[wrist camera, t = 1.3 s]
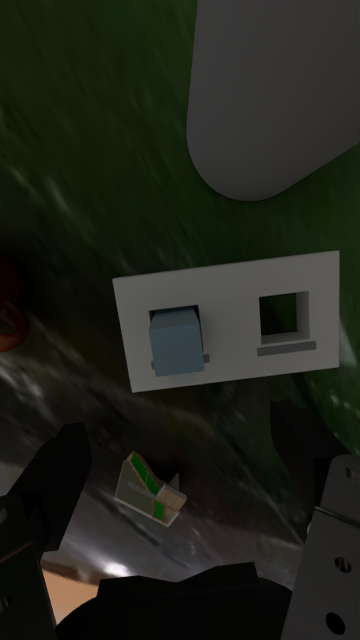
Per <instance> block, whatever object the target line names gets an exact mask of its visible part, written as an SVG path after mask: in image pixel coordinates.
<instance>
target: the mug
mask: <svg viewBox="0 0 360 640" xmlns="http://www.w3.org/2000/svg"><path fill="white" fill-rule="evenodd" d="M24 292H25V284H24V278H23V275H22V272H21V270H20V268H19V267H18V265H17V264H16V263H15V262H14V260H13V259H11V258H10V257H9V256H8V255H6V254H5V253H3V252H1V251H0V320H3V321H5V322H7V323H9V324H10V325H11V326H12V327H13V328H14V329H15V331H16V332H15V333H13V334H10V335H6V334H2V333H0V352H6V351H10V350H13V349H15V348H16V347H18V346H19V345H20V344H21V343H22V342H23V341H24V340H25V339H26V337H27V336H28V334H29V331H30V324H29V321H28V320H27V318H26V317H25V315H24V314H23V313H22V311H21V310H20V308H19V307H18V304H19V303H20V302H21V300H22V298H23V295H24Z"/></svg>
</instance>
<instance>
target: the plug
mask: <svg viewBox="0 0 360 640" xmlns="http://www.w3.org/2000/svg"><path fill="white" fill-rule="evenodd" d="M149 336H150V342H151V349H152V356H153V362H154V369H155V375H156V377H160V376H167V382H168V386H173V385H181V384H189V383H196V380H195V372H201V371H205V370H204V361H203V352H202V343H201V334H200V325H199V321H198V319H197V316H196V314H195V311H194V309H193V306H192V305H190V306H182V307H174V308H166V309H158V310H156V311H155V314H154V317H153V319H152V322H151V325H150V327H149Z"/></svg>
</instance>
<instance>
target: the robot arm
mask: <svg viewBox="0 0 360 640" xmlns="http://www.w3.org/2000/svg"><path fill="white" fill-rule="evenodd" d="M270 418H271V434H272V440H273V443H274V446H275V449H276V451H277V452H278V454H279V456H280V458H281V460H282V462H283V464H284V465H285V467H286V469H287V471H288V473H289V475H290V477H291V478H292V480H293V482H294V484H295V486H296V488H297V490H298V491H299V493H300V495H301V497H302V499H303V501H304V503H305V504H306V506H307V508H308V510H309V512H310V514H311V516H312V520H311V524H310V528H309V532H308V536H307V540H306V543H305V547H304V551H303V555H302V559H301V563H300V566H299V570H298V574H297V578H296V582H295V586H294V590H293V592H292V591H291V590H289V589H288V588H286V587H284V586H282V585H280V584H278V583H276V582H273V581H270V580H267V579H264V578H259V577H258V576H257V572H256V568H255V565H254V562H248V563H240V564H231V565H223V566H215V567H213V568H211V569H208V570H206V571H204V572H201V573H199V574H197V575H194V576H192V577H190V578H188V579H185V580H183V581H180V582H169V581H164V580H159V579H154V578H149V577H144V576H139V575H137V576H128V577H120V578H111V579H102V580H100V584H99V588H98V592H97V596H96V597H95V598H92V599H91V600H89V601H87V602H85V603H84V604H82V605H80V606H79V607H78V608H76V609H75V610H73V611H72V612H71V613H70V614H69V615H67V616H66V617H65V618H64V619H63V620H62V621H61V622H60V623H59V624H58V625H57V624H56V620H55V616H54V613H53V609H52V606H51V601H50V598H49V594H48V591H47V587H46V583H45V579H44V576H43V572H42V568H41V565H40V560H41V557H42V555H43V553H44V552H48V551H57V550H58V549H59V546H60V544H61V541H62V539H63V536H64V534H65V531H66V529H67V526H68V524H69V521H70V519H71V516H72V514H73V512H74V509H75V507H76V504H77V502H78V499H79V497H80V494H81V492H82V489H83V487H84V484H85V482H86V479H87V477H88V474H89V472H90V469H91V464H92V455H91V450H90V445H89V441H88V436H87V432H86V427H85V425H84V423H74V424H66V425H64V426H63V427H62V428H61V430H60V431H59V433H58V434H57V436H56V437H55V438H51V439H50V440H49V441H48V442H47V443H45V444H44V445H43V446H42V447H40V449H39V450H38V452H37V453H36V454H35V456H34V459H32V460H31V461H30V463H29V464H28V467H26V468H25V470H24V471H23V472H22V474H21V475H20V477H19V478H18V479H17V481H16V482H15V484H14V485H13V486H12V488H11V489H10V491H9V492H8V493H7V495H4V496H1V497H0V640H360V457H359V456H355V455H352V454H351V453H350V452H349V451H348V450H347V449H346V447H345V446H344V445H343V444H342V443H341V442H340V441H339V440H338V439H337V438H336V437H335V435H334V434H333V433H332V432H330V431H329V429H328V428H327V427H326V426H325V425H323V422H322V421H321V420H320V419H319V418H318V417H317V416H316V415H315V414H313V413H311V412H310V411H308V410H306V409H298V408H297V407H296V406H295V405H294V403H293V402H292V401H291V400H290V399H289V398H285V399H277V400H271V401H270Z"/></svg>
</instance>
